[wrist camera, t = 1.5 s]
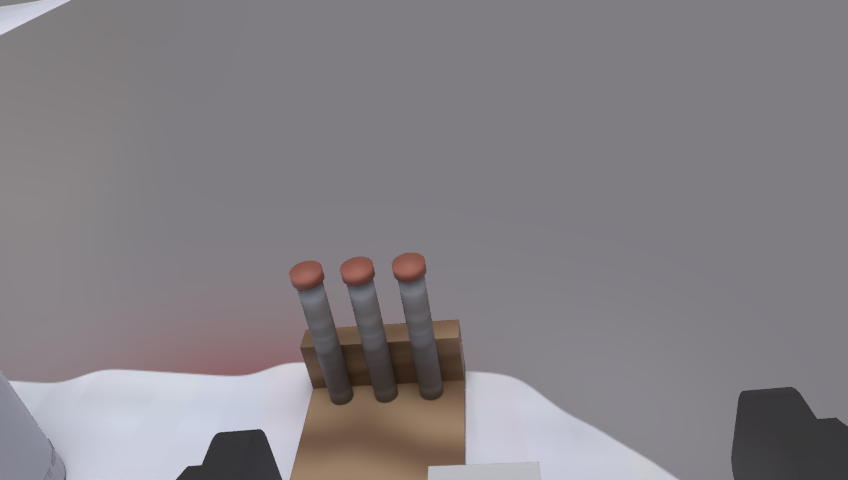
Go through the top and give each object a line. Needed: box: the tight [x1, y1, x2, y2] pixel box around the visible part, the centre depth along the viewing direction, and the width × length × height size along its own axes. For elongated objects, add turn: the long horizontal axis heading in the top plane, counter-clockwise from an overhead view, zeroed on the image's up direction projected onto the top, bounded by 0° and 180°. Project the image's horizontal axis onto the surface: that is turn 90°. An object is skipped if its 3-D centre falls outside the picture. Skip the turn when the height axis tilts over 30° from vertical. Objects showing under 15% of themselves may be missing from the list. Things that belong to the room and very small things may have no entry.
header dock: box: [289, 253, 465, 480], centre depth 43 cm, size 16×12×13 cm
